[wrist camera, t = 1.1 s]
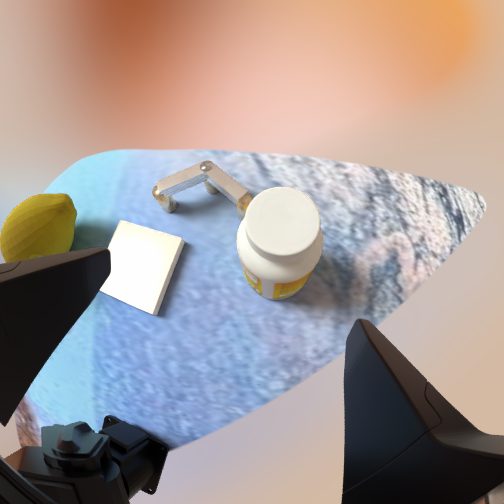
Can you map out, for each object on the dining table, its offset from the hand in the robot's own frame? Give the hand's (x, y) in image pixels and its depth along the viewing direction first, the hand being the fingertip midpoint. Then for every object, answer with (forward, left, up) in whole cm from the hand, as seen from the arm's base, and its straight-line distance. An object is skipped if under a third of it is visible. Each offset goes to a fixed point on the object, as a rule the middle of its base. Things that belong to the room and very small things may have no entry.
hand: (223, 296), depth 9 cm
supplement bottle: (+5, -1, -14) cm, 15 cm away
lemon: (0, +22, -14) cm, 26 cm away
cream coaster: (+2, +11, -14) cm, 18 cm away
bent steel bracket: (+9, +7, -14) cm, 18 cm away
